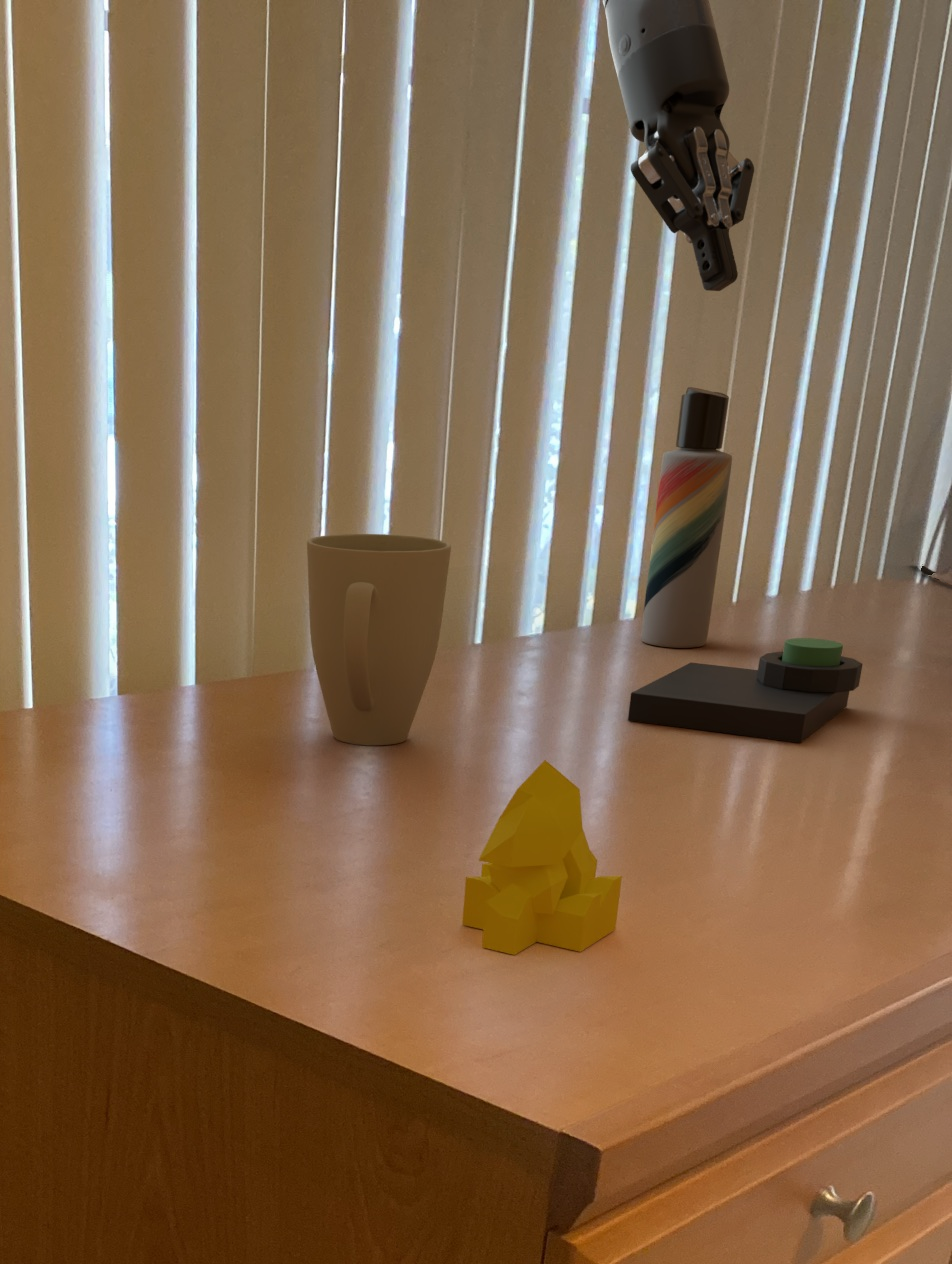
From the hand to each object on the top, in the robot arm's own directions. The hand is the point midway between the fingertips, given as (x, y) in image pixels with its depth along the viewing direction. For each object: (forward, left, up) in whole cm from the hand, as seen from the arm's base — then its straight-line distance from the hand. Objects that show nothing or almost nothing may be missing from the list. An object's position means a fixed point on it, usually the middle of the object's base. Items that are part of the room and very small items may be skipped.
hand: (722, 285), depth 125 cm
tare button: (+17, +15, -24) cm, 33 cm away
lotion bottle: (-5, -2, -27) cm, 28 cm away
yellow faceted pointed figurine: (+73, +16, -27) cm, 80 cm away
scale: (+21, +11, -27) cm, 36 cm away
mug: (+44, -7, -27) cm, 52 cm away
